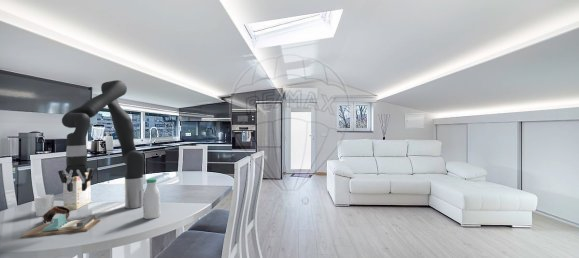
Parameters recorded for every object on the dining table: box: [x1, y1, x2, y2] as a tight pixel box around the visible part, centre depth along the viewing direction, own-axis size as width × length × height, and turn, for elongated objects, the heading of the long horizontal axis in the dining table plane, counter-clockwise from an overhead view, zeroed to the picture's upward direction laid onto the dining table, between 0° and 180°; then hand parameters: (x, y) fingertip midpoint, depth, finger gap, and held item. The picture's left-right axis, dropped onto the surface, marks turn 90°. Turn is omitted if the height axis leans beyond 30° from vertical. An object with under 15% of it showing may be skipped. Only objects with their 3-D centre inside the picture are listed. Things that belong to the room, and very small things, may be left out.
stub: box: [43, 214, 69, 231], centre depth 116 cm, size 5×9×5 cm, turn 16°
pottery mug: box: [42, 205, 71, 224], centre depth 128 cm, size 12×10×8 cm
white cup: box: [33, 193, 55, 217], centre depth 138 cm, size 8×8×10 cm
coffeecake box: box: [62, 171, 92, 211], centre depth 153 cm, size 15×7×20 cm, turn 12°
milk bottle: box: [142, 177, 161, 220], centre depth 132 cm, size 8×8×20 cm
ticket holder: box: [20, 213, 101, 239], centre depth 117 cm, size 24×13×4 cm, turn 106°
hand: (77, 190), depth 118 cm, fingers open, 4 cm apart
